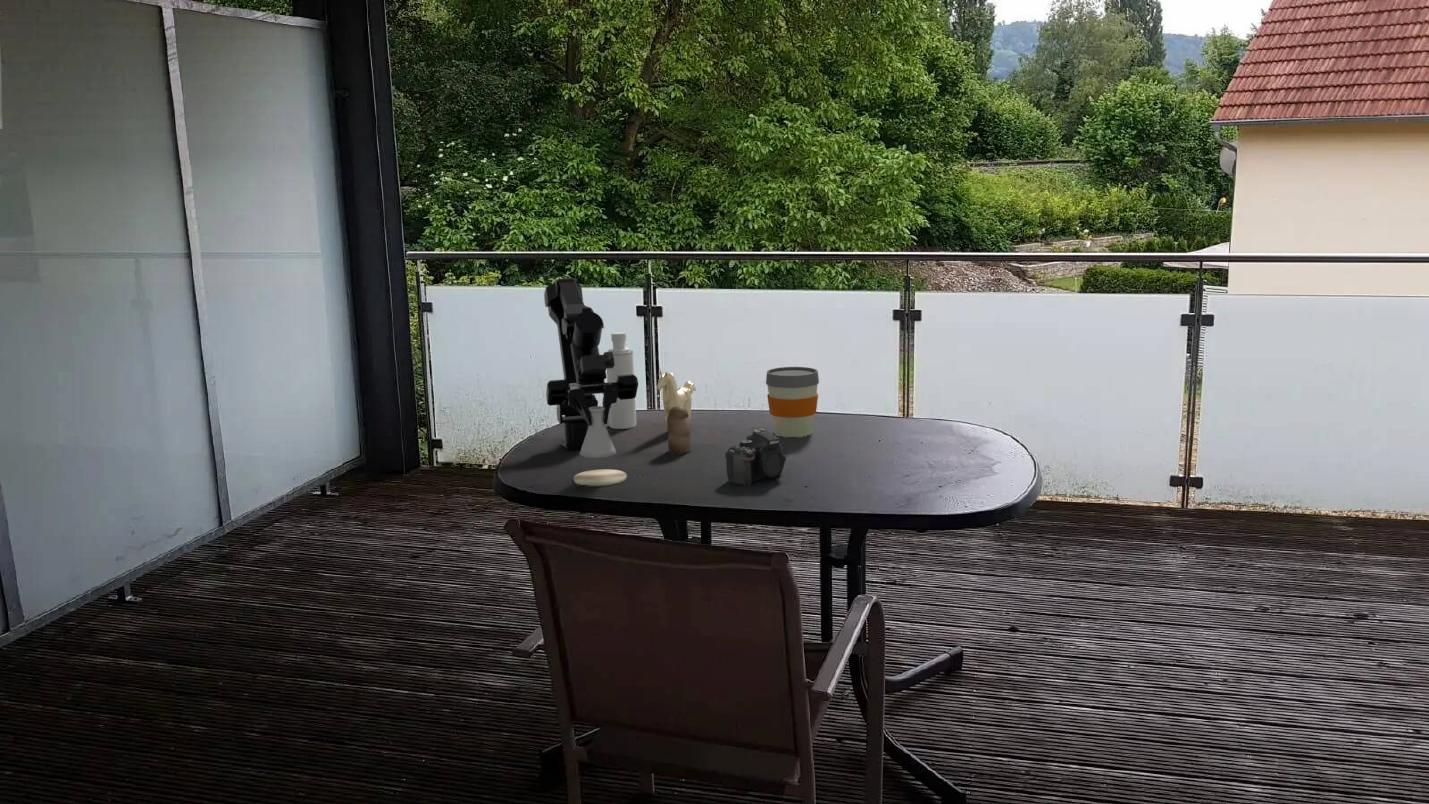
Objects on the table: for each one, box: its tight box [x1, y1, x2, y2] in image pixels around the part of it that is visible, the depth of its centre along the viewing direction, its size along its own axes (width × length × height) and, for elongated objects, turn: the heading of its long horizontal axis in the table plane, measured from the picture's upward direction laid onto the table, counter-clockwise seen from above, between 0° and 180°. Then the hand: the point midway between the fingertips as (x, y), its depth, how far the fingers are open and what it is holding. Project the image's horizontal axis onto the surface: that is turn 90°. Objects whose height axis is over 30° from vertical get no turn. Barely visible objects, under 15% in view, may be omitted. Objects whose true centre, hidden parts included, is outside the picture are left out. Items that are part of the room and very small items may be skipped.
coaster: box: [573, 468, 628, 487], centre depth 237 cm, size 11×11×1 cm
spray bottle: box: [606, 331, 637, 430], centre depth 283 cm, size 7×7×25 cm
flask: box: [579, 405, 617, 459], centre depth 236 cm, size 7×7×10 cm
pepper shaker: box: [666, 406, 692, 455], centre depth 257 cm, size 5×5×10 cm
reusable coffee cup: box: [765, 366, 820, 438], centre depth 271 cm, size 13×12×15 cm
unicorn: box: [656, 368, 697, 427], centre depth 277 cm, size 20×4×17 cm, turn 156°
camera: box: [724, 428, 787, 487], centre depth 234 cm, size 13×10×10 cm
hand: (598, 423), depth 234 cm, fingers closed on flask, 3 cm apart
